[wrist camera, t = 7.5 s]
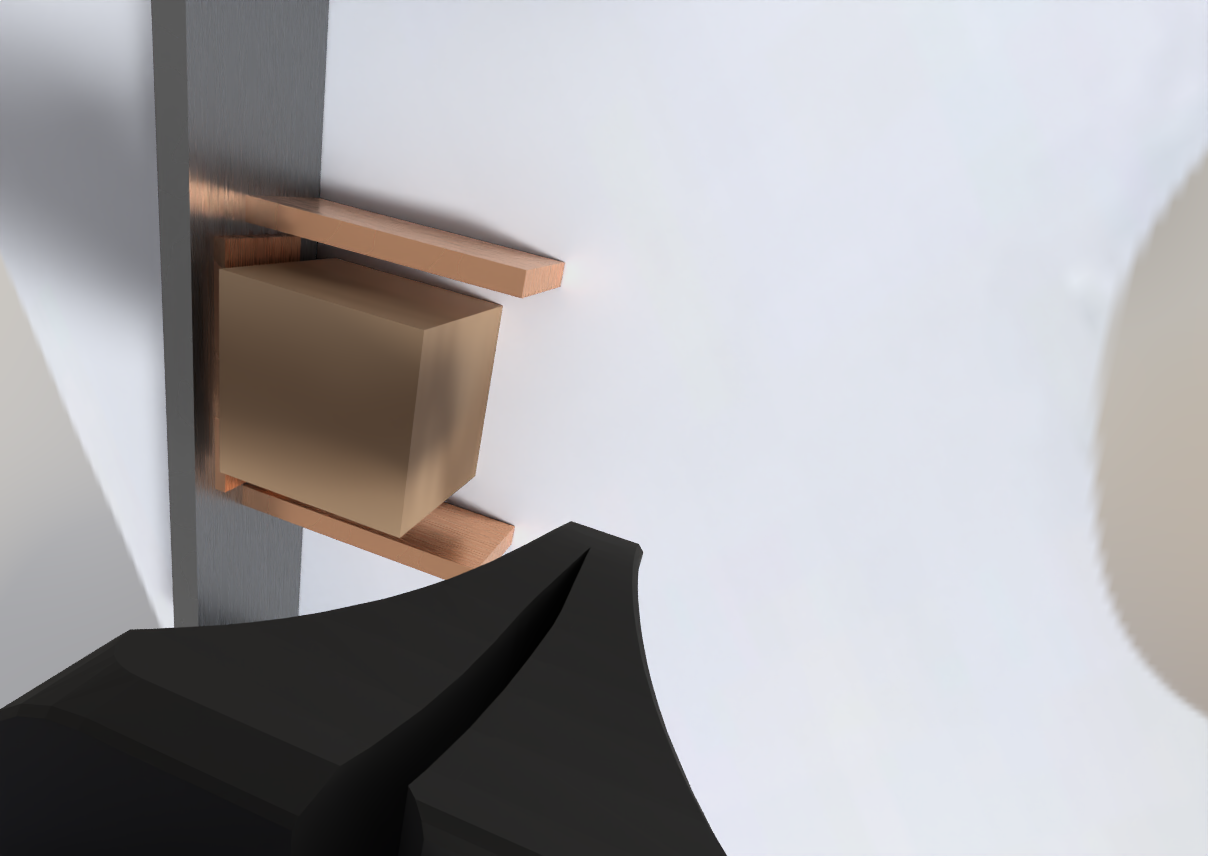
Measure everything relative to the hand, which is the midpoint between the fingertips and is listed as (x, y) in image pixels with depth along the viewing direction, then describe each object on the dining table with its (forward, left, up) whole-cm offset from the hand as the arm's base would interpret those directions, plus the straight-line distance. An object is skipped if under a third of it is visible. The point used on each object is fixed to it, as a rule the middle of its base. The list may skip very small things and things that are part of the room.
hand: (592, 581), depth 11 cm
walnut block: (0, +8, -6) cm, 10 cm away
